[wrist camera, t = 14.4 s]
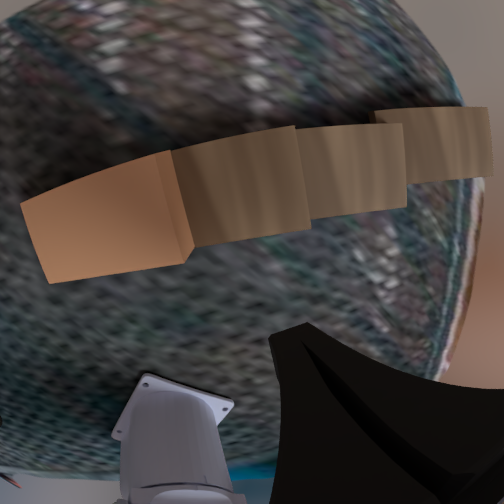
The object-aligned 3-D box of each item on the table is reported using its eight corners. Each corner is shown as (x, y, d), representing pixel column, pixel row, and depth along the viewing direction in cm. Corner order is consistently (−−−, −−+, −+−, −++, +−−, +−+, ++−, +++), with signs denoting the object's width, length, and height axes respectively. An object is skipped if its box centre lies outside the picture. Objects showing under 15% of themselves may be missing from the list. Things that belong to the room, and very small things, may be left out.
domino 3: (258, 227, 17) (406, 206, 16) (243, 136, 15) (402, 123, 14) (257, 217, 19) (393, 199, 18) (244, 136, 17) (387, 123, 16)
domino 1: (49, 283, 15) (184, 263, 13) (20, 203, 13) (154, 153, 12) (66, 268, 17) (194, 246, 15) (41, 194, 15) (170, 149, 13)
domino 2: (142, 256, 16) (311, 228, 15) (115, 167, 14) (294, 125, 13) (154, 243, 18) (306, 216, 16) (132, 162, 16) (291, 125, 14)
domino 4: (385, 187, 18) (493, 176, 16) (374, 110, 16) (487, 107, 14) (378, 181, 20) (480, 170, 18) (367, 111, 18) (474, 107, 16)
